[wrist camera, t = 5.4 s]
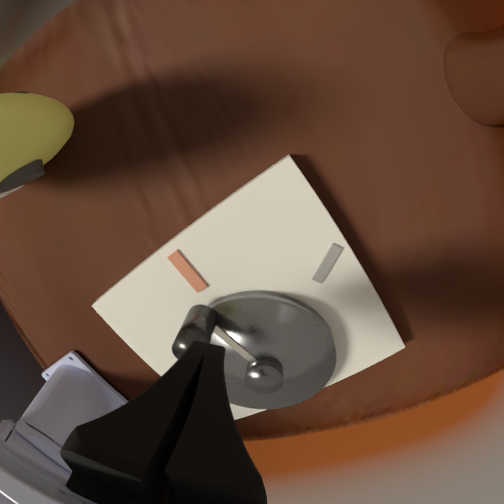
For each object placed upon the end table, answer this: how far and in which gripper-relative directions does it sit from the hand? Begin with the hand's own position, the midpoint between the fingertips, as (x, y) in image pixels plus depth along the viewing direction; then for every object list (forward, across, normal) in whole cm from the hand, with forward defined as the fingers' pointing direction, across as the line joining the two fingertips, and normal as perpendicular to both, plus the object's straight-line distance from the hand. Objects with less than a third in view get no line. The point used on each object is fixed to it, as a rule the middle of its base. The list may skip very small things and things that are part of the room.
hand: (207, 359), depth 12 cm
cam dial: (+6, -3, +5) cm, 8 cm away
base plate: (+7, -1, +3) cm, 8 cm away
